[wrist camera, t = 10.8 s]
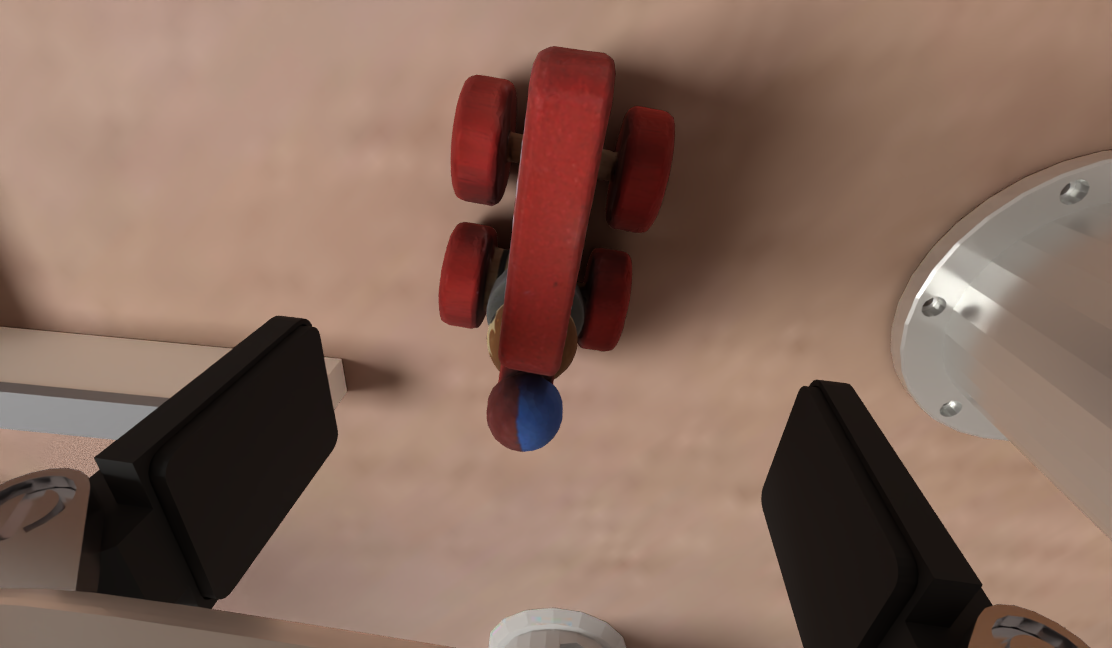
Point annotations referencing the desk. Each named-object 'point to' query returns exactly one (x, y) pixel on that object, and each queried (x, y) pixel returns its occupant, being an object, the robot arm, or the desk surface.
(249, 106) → the desk surface
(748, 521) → the desk surface
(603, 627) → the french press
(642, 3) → the desk surface
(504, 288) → the toy fire truck
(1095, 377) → the robot arm
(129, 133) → the desk surface
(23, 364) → the white u-shaped wall
